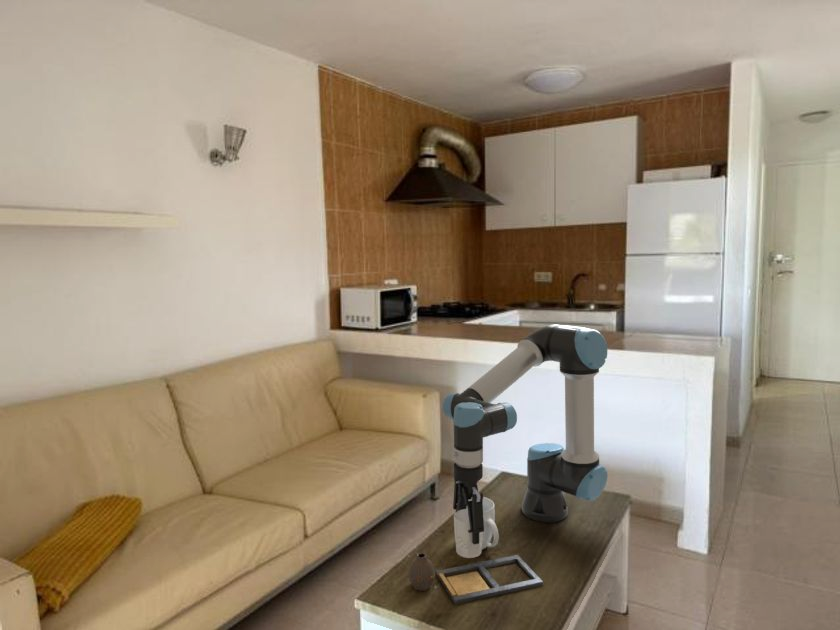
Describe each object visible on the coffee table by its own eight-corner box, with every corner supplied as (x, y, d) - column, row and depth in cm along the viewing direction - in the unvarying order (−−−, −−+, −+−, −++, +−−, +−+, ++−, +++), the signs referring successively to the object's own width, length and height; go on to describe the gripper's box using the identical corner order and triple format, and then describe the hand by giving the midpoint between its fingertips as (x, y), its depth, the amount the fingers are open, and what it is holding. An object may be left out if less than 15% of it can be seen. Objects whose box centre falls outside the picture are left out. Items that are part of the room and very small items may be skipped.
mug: (511, 552, 167) (511, 510, 166) (482, 564, 161) (482, 521, 159) (477, 532, 179) (478, 492, 178) (450, 542, 173) (450, 501, 172)
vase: (412, 596, 147) (412, 564, 146) (405, 581, 153) (405, 550, 152) (438, 591, 149) (438, 559, 148) (430, 577, 155) (430, 546, 154)
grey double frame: (517, 557, 164) (517, 554, 164) (542, 585, 151) (542, 580, 151) (436, 574, 157) (436, 570, 156) (455, 604, 143) (455, 599, 143)
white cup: (447, 551, 151) (447, 515, 150) (467, 540, 156) (467, 506, 155) (470, 563, 145) (470, 526, 144) (489, 551, 151) (489, 515, 150)
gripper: (440, 451, 156) (441, 530, 159) (470, 479, 137) (470, 569, 140) (466, 448, 159) (465, 526, 161) (498, 475, 139) (497, 563, 142)
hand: (467, 545), depth 151 cm, fingers closed on white cup, 8 cm apart
